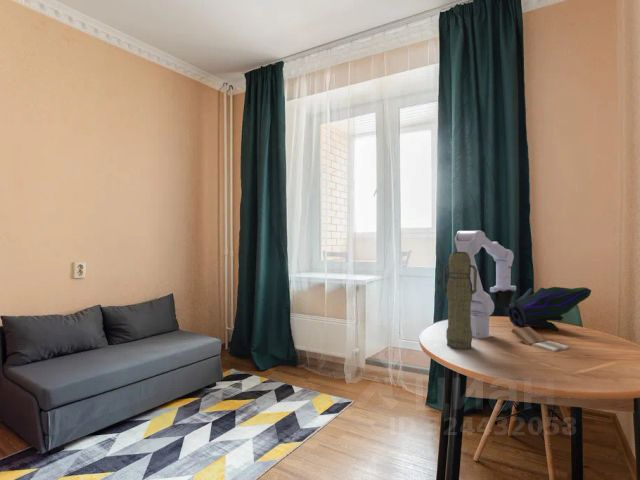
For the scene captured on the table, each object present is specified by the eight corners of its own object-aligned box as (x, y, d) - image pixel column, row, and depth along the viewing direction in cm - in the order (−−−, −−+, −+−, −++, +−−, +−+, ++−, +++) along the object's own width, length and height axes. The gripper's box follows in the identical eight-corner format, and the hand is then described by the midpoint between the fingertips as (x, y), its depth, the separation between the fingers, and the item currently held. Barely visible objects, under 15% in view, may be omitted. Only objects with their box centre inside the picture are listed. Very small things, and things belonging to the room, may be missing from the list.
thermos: (476, 351, 132) (477, 252, 132) (441, 347, 136) (442, 252, 136) (476, 344, 140) (477, 251, 140) (443, 341, 145) (444, 251, 144)
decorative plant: (512, 343, 175) (573, 326, 175) (537, 335, 151) (608, 315, 151) (493, 301, 183) (551, 285, 183) (514, 287, 159) (581, 269, 160)
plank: (528, 345, 138) (529, 343, 138) (511, 331, 145) (512, 329, 144) (545, 342, 143) (546, 340, 142) (527, 328, 149) (529, 326, 149)
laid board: (552, 353, 130) (552, 349, 130) (531, 347, 137) (531, 343, 137) (569, 349, 135) (569, 346, 135) (547, 343, 142) (547, 340, 142)
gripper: (506, 275, 169) (506, 304, 169) (484, 276, 163) (483, 307, 163) (520, 276, 163) (520, 307, 163) (498, 278, 156) (497, 310, 156)
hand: (503, 307), depth 162 cm, fingers open, 3 cm apart
